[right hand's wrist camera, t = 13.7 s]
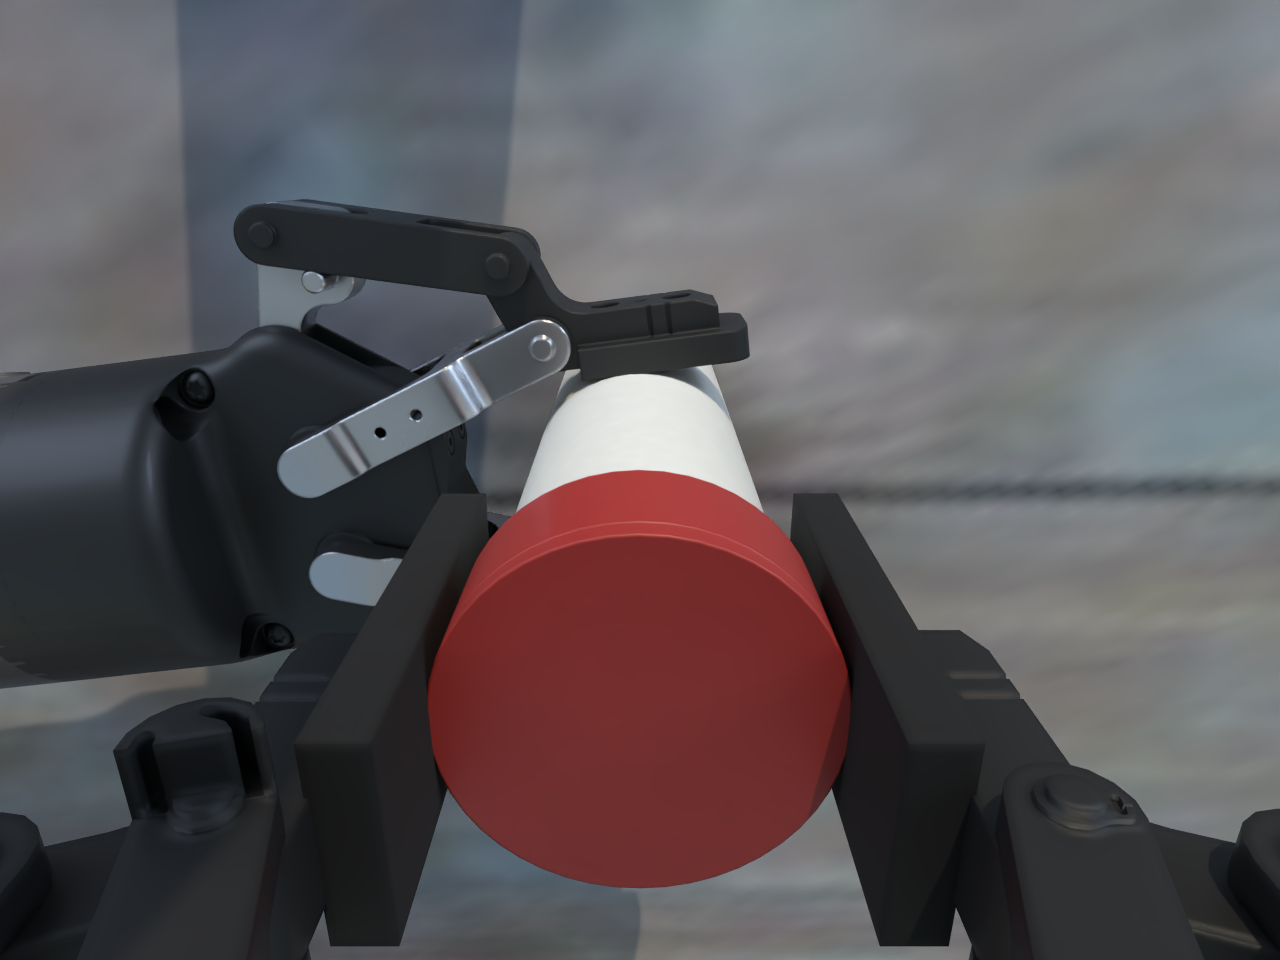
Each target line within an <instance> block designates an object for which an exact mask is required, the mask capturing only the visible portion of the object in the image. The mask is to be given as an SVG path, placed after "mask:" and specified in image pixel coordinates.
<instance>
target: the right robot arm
mask: <svg viewBox="0 0 1280 960" xmlns="http://www.w3.org/2000/svg"><path fill="white" fill-rule="evenodd" d="M488 541H489V534H488V520H487V507H486V494H441V496H440V497H439V499H438V501H437V502H436V504H435V506H434V507H433V509H432V511H431V512H430V514H429V516H428V517H427V519H426V521H425V523H424V524H423V526H422V528H421V529H420V531H419V533H418V534H417V536H416V538H415V539H414V541H413V543H412V544H411V546H410V548H409V550H408V551H407V553H406V555H405V556H404V558H403V560H402V561H401V563H400V565H399V566H398V568H397V570H396V571H395V573H394V575H393V576H392V578H391V580H390V582H389V583H388V585H387V587H386V588H385V590H384V592H383V593H382V595H381V597H380V598H379V600H378V602H377V603H376V605H375V607H374V609H373V610H372V612H371V614H370V615H369V617H368V619H367V620H366V622H365V624H364V625H363V627H362V629H361V630H360V632H359V633H319V634H318V635H316V636H315V637H313V638H312V639H310V640H309V641H308V642H306V643H305V644H303V645H302V646H300V647H299V648H298V649H296V650H295V651H293V652H292V653H291V654H290V655H289V656H288V658H287V659H286V661H285V662H284V663H283V665H282V666H281V668H280V669H279V671H278V672H277V673H276V675H275V676H274V681H273V682H270V683H269V685H268V686H267V688H266V689H265V690H264V692H263V693H262V695H261V696H260V701H259V702H256V703H255V704H254V705H253V704H252V703H251V702H247V701H243V700H239V699H235V698H230V697H229V698H206V699H201V700H196V701H192V702H188V703H184V704H180V705H176V706H174V707H172V708H169V709H167V710H165V711H162V712H160V713H158V714H156V715H153V716H151V717H149V718H148V719H146V720H145V721H143V722H142V723H141V724H139V725H138V726H136V727H135V728H133V729H132V730H131V731H129V732H128V733H127V734H126V735H125V736H124V737H123V739H122V740H121V741H120V743H119V744H118V745H117V746H116V748H115V749H114V750H113V753H114V756H115V760H116V763H117V767H118V770H119V774H120V778H121V781H122V785H123V788H124V792H125V795H126V799H127V803H128V806H129V810H130V813H131V817H132V822H131V824H130V826H128V827H125V828H121V829H118V830H115V831H111V832H107V833H103V834H99V835H94V836H90V837H85V838H81V839H77V840H72V841H68V842H63V843H59V844H55V845H50V846H46V847H44V845H43V842H42V839H41V836H40V833H39V830H38V827H37V825H35V824H34V823H33V822H32V821H31V820H29V819H28V818H27V817H26V816H24V815H17V814H10V813H2V812H1V813H0V960H311V957H310V952H309V947H308V946H309V944H310V941H311V939H312V937H313V934H314V932H315V929H316V927H317V925H318V922H319V920H320V918H321V915H322V913H323V910H324V913H325V919H326V924H327V930H328V935H329V941H330V946H399V945H400V942H401V939H402V936H403V932H404V929H405V926H406V923H407V919H408V916H409V913H410V909H411V906H412V903H413V900H414V896H415V893H416V890H417V886H418V883H419V880H420V877H421V873H422V870H423V867H424V864H425V860H426V857H427V854H428V850H429V847H430V844H431V841H432V837H433V834H434V831H435V827H436V824H437V821H438V818H439V814H440V811H441V808H442V805H443V801H444V798H445V795H446V791H447V786H446V784H445V782H444V780H443V778H442V776H441V775H440V773H439V770H438V767H437V764H436V762H435V759H434V755H433V747H432V739H431V729H430V720H429V711H428V700H427V691H428V683H429V678H430V674H431V671H432V667H433V664H434V660H435V657H436V654H437V652H438V650H439V647H440V645H441V643H442V640H443V637H444V635H445V633H446V630H447V628H448V625H449V623H450V621H451V618H452V616H453V613H454V611H455V608H456V606H457V604H458V601H459V599H460V596H461V594H462V591H463V589H464V587H465V584H466V582H467V579H468V577H469V575H470V573H471V571H472V568H473V566H474V564H475V562H476V560H477V558H478V556H479V555H480V553H481V552H482V550H483V549H484V547H485V546H486V544H487V543H488ZM790 541H791V542H792V544H793V545H794V547H795V548H796V550H797V551H798V553H799V554H800V556H801V557H802V560H803V562H804V564H805V566H806V568H807V570H808V572H809V574H810V576H811V579H812V581H813V584H814V586H815V588H816V591H817V593H818V596H819V598H820V601H821V603H822V605H823V608H824V610H825V613H826V615H827V618H828V620H829V622H830V625H831V627H832V630H833V632H834V635H835V637H836V640H837V642H838V644H839V647H840V649H841V652H842V654H843V657H844V660H845V664H846V667H847V670H848V674H849V677H850V683H851V690H852V701H851V712H850V722H849V731H848V740H847V748H846V756H845V759H844V762H843V765H842V768H841V771H840V773H839V775H838V777H837V778H836V780H835V782H834V784H833V786H832V791H833V794H834V797H835V801H836V804H837V807H838V810H839V814H840V817H841V820H842V824H843V827H844V830H845V833H846V837H847V840H848V843H849V847H850V850H851V853H852V856H853V860H854V863H855V866H856V869H857V873H858V876H859V879H860V883H861V886H862V889H863V892H864V896H865V899H866V902H867V906H868V909H869V912H870V915H871V919H872V922H873V925H874V928H875V932H876V935H877V938H878V942H879V945H880V946H949V941H950V936H951V931H952V925H953V920H954V914H955V909H956V908H957V911H958V913H959V915H960V918H961V920H962V923H963V925H964V927H965V930H966V932H967V934H968V937H969V939H970V941H971V944H972V947H971V952H970V957H969V960H1280V809H1273V810H1266V811H1258V812H1255V813H1254V814H1252V815H1251V816H1250V817H1249V818H1247V819H1246V820H1245V821H1244V822H1243V823H1242V826H1241V829H1240V832H1239V835H1238V838H1237V841H1236V843H1232V842H1228V841H1223V840H1219V839H1214V838H1210V837H1205V836H1201V835H1197V834H1192V833H1188V832H1183V831H1179V830H1174V829H1170V828H1167V827H1163V826H1160V825H1157V824H1153V823H1150V822H1149V820H1148V818H1147V817H1146V815H1145V814H1144V812H1143V811H1142V809H1141V808H1140V806H1139V805H1138V803H1137V802H1136V800H1135V799H1133V798H1132V797H1131V796H1130V795H1128V794H1127V793H1126V792H1125V791H1123V790H1122V789H1121V788H1120V787H1119V786H1117V785H1116V784H1115V783H1113V782H1111V781H1109V780H1107V779H1105V778H1103V777H1101V776H1099V775H1097V774H1095V773H1093V772H1091V771H1089V770H1087V769H1083V768H1079V767H1076V766H1072V765H1070V764H1069V762H1068V761H1067V760H1066V758H1065V757H1064V755H1063V754H1062V753H1061V751H1060V750H1059V748H1058V747H1057V746H1056V744H1055V743H1054V741H1053V740H1052V739H1051V737H1050V736H1049V734H1048V733H1047V732H1046V730H1045V729H1044V727H1043V726H1042V725H1041V723H1040V722H1039V720H1038V719H1037V718H1036V716H1035V715H1034V713H1033V712H1032V711H1031V709H1030V708H1029V706H1028V705H1027V703H1026V702H1025V701H1024V699H1020V694H1019V692H1018V691H1017V689H1016V688H1015V687H1014V685H1013V684H1012V682H1011V681H1010V680H1009V679H1006V674H1005V673H1004V671H1003V670H1002V668H1001V667H1000V666H999V664H998V663H997V661H996V660H995V659H994V657H993V656H992V654H991V653H990V651H989V650H987V649H986V648H984V647H983V646H982V645H980V644H979V643H977V642H976V641H974V640H973V639H971V638H970V637H969V636H967V635H966V634H964V633H963V632H961V631H960V630H918V629H917V627H916V625H915V624H914V622H913V620H912V618H911V617H910V615H909V613H908V612H907V610H906V608H905V607H904V605H903V603H902V602H901V600H900V598H899V597H898V595H897V593H896V591H895V590H894V588H893V586H892V585H891V583H890V581H889V580H888V578H887V576H886V575H885V573H884V571H883V570H882V568H881V566H880V564H879V563H878V561H877V559H876V558H875V556H874V554H873V553H872V551H871V549H870V548H869V546H868V544H867V543H866V541H865V539H864V537H863V536H862V534H861V532H860V531H859V529H858V527H857V526H856V524H855V522H854V521H853V519H852V517H851V515H850V514H849V512H848V510H847V509H846V507H845V505H844V504H843V502H842V500H841V499H840V497H839V495H838V494H794V495H793V509H792V523H791V537H790Z"/></svg>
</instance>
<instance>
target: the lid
mask: <svg viewBox="0 0 1280 960" xmlns="http://www.w3.org/2000/svg"><path fill="white" fill-rule="evenodd" d="M427 700H428V711H429V720H430V729H431V739H432V747H433V755H434V759H435V762H436V764H437V767H438V770H439V773H440V775H441V776H442V778H443V780H444V782H445V784H446V786H447V788H448V790H449V791H450V793H451V795H452V796H453V797H454V799H455V800H456V801H457V803H458V804H459V806H460V807H461V808H462V810H463V811H464V812H465V813H466V814H467V816H468V817H469V818H470V819H471V820H472V821H473V822H474V823H475V824H476V825H477V826H478V827H479V828H480V829H481V830H482V831H483V832H484V833H486V834H487V835H488V836H489V837H491V838H492V839H493V840H494V841H495V842H497V843H498V844H499V845H501V846H502V847H504V848H505V849H507V850H508V851H510V852H512V853H513V854H515V855H516V856H518V857H519V858H521V859H523V860H525V861H527V862H529V863H531V864H534V865H536V866H538V867H540V868H542V869H544V870H547V871H550V872H552V873H555V874H558V875H561V876H563V877H566V878H570V879H574V880H578V881H582V882H586V883H591V884H597V885H604V886H611V887H624V888H655V887H669V886H675V885H682V884H688V883H693V882H697V881H701V880H705V879H709V878H712V877H716V876H719V875H721V874H724V873H727V872H729V871H732V870H735V869H737V868H740V867H742V866H744V865H746V864H748V863H750V862H752V861H754V860H756V859H758V858H760V857H761V856H763V855H765V854H766V853H768V852H769V851H771V850H772V849H774V848H775V847H777V846H778V845H780V844H781V843H783V842H784V841H785V840H786V839H787V838H789V837H790V836H791V835H792V834H793V833H795V832H796V831H797V830H798V829H799V828H800V827H801V826H802V825H803V824H804V823H805V822H806V821H807V820H808V819H809V818H810V817H811V816H812V815H813V813H814V812H815V811H816V810H817V809H818V807H819V806H820V804H821V803H822V802H823V800H824V799H825V797H826V796H827V795H828V793H829V792H830V790H831V788H832V786H833V784H834V782H835V780H836V778H837V777H838V775H839V773H840V771H841V768H842V765H843V762H844V759H845V756H846V748H847V740H848V731H849V722H850V712H851V701H852V690H851V683H850V677H849V674H848V670H847V667H846V664H845V660H844V657H843V654H842V652H841V649H840V647H839V644H838V642H837V640H836V637H835V635H834V632H833V630H832V627H831V625H830V622H829V620H828V618H827V615H826V613H825V610H824V608H823V605H822V603H821V601H820V598H819V596H818V593H817V591H816V588H815V586H814V584H813V581H812V579H811V576H810V574H809V572H808V570H807V568H806V566H805V564H804V562H803V560H802V557H801V556H800V554H799V553H798V551H797V550H796V548H795V547H794V545H793V544H792V542H791V541H790V539H789V538H788V537H787V536H786V535H785V534H784V533H783V531H782V530H781V529H780V528H779V527H778V526H777V525H776V524H775V523H774V521H772V520H771V519H770V518H769V517H768V516H766V515H765V514H764V513H763V512H762V511H760V510H759V509H758V508H757V507H756V506H754V505H752V504H751V503H749V502H748V501H746V500H745V499H743V498H741V497H740V496H738V495H737V494H735V493H733V492H731V491H728V490H726V489H724V488H722V487H720V486H718V485H715V484H713V483H710V482H707V481H704V480H701V479H697V478H694V477H691V476H687V475H682V474H676V473H671V472H665V471H650V470H629V471H614V472H608V473H603V474H598V475H593V476H588V477H585V478H582V479H578V480H575V481H572V482H569V483H566V484H564V485H561V486H559V487H557V488H555V489H553V490H551V491H549V492H547V493H545V494H542V495H541V496H539V497H538V498H536V499H535V500H533V501H532V502H530V503H528V504H527V505H525V506H524V507H522V508H521V509H520V510H519V511H518V512H516V513H515V514H514V515H513V516H512V517H511V518H509V519H508V520H507V521H506V522H505V523H504V524H503V525H502V526H501V527H500V528H499V529H498V531H497V532H496V533H495V534H494V535H493V536H492V537H491V538H490V540H489V541H488V543H487V544H486V546H485V547H484V549H483V550H482V552H481V553H480V555H479V556H478V558H477V560H476V562H475V564H474V566H473V568H472V571H471V573H470V575H469V577H468V579H467V582H466V584H465V587H464V589H463V591H462V594H461V596H460V599H459V601H458V604H457V606H456V608H455V611H454V613H453V616H452V618H451V621H450V623H449V625H448V628H447V630H446V633H445V635H444V637H443V640H442V643H441V645H440V647H439V650H438V652H437V654H436V657H435V660H434V664H433V667H432V671H431V674H430V678H429V683H428V691H427Z"/></svg>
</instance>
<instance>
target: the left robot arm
mask: <svg viewBox="0 0 1280 960" xmlns="http://www.w3.org/2000/svg"><path fill="white" fill-rule="evenodd" d="M234 237H235V241H236V244H237V246H238V247H239V249H240V251H241V252H242V253H243V254H244V255H245V256H246V257H247V258H248V259H249V260H251V261H253V262H254V263H257V285H258V315H259V328H256V329H253V330H251V331H249V332H247V333H246V334H244V335H243V336H242V337H241V338H240V339H238V340H237V341H236V342H235V343H234V344H233V345H231V346H230V347H229V348H225V349H221V350H214V351H206V352H198V353H191V354H183V355H175V356H167V357H159V358H152V359H144V360H136V361H128V362H120V363H113V364H105V365H97V366H89V367H81V368H74V369H67V370H58V371H50V372H42V373H35V374H30V373H29V372H9V373H0V689H2V688H12V687H21V686H30V685H39V684H49V683H58V682H67V681H77V680H86V679H95V678H104V677H113V676H122V675H130V674H139V673H148V672H157V671H167V670H176V669H185V668H194V667H203V666H213V665H222V664H231V663H236V662H242V661H246V660H250V659H253V658H257V657H260V656H264V655H267V654H271V653H274V652H278V651H282V650H286V649H293V648H299V647H300V646H302V645H303V644H305V643H306V642H308V641H309V640H310V639H312V638H313V637H315V636H316V635H318V634H319V633H359V632H360V630H361V629H362V627H363V625H364V624H365V622H366V620H367V619H368V617H369V615H370V614H371V612H372V610H373V609H374V607H375V605H376V603H377V602H378V600H379V598H380V597H381V595H382V593H383V592H384V590H385V588H386V587H387V585H388V583H389V582H390V580H391V578H392V576H393V575H394V573H395V571H396V570H397V568H398V566H399V565H400V563H401V561H402V560H403V558H404V556H405V555H406V553H407V551H408V550H409V548H410V546H411V544H412V543H413V541H414V539H415V538H416V536H417V534H418V533H419V531H420V529H421V528H422V526H423V524H424V523H425V521H426V519H427V517H428V516H429V514H430V512H431V511H432V509H433V507H434V506H435V504H436V502H437V501H438V499H439V497H440V496H441V494H480V493H479V492H478V490H477V488H476V486H475V484H474V482H473V480H472V478H471V476H470V474H469V472H468V470H467V468H466V465H465V461H466V446H467V432H466V427H465V422H466V421H468V420H470V419H472V418H473V417H475V416H476V415H478V414H479V413H481V412H482V411H483V410H484V409H486V408H487V407H489V406H491V405H492V404H494V403H496V402H498V401H500V400H502V399H504V398H506V397H508V396H510V395H512V394H514V393H516V392H518V391H520V390H522V389H524V388H526V387H529V386H531V385H533V384H535V383H537V382H539V381H541V380H543V379H545V378H547V377H549V376H551V375H553V374H555V373H557V372H559V371H567V370H575V369H580V371H581V377H582V381H586V380H594V379H602V378H610V377H616V376H623V375H629V374H642V373H650V372H658V371H666V370H674V369H682V368H690V367H698V366H706V365H714V364H722V363H730V362H736V361H740V360H744V359H746V358H748V357H749V356H750V352H749V340H748V328H747V323H746V322H745V320H744V318H743V317H742V315H741V314H739V313H719V312H718V305H717V303H716V301H715V299H714V297H713V295H709V294H705V293H702V292H698V291H694V290H682V291H674V292H667V293H659V294H651V295H643V296H636V297H628V298H620V299H612V300H605V301H597V302H588V303H584V302H577V301H574V300H572V299H569V298H568V297H566V296H565V295H564V294H562V293H561V292H560V291H559V290H558V288H557V287H556V285H555V284H554V282H553V280H552V278H551V276H550V275H549V273H548V271H547V269H546V267H545V265H544V264H543V262H542V260H541V253H540V248H539V245H538V243H537V241H536V240H535V238H534V237H533V236H532V235H531V234H530V233H528V232H527V231H525V230H523V229H520V228H514V227H507V226H499V225H492V224H485V223H477V222H470V221H463V220H455V219H448V218H441V217H433V216H426V215H419V214H411V213H404V212H396V211H389V210H382V209H374V208H367V207H360V206H352V205H345V204H338V203H330V202H323V201H316V200H308V199H301V200H292V201H280V202H271V203H265V204H257V205H251V206H248V207H246V208H245V209H243V210H242V211H241V212H240V213H239V215H238V216H237V218H236V220H235V223H234ZM366 279H369V280H377V281H385V282H392V283H400V284H407V285H415V286H422V287H430V288H438V289H445V290H453V291H460V292H468V293H475V294H483V295H486V296H487V297H488V299H489V301H490V303H491V304H492V306H493V308H494V310H495V311H496V313H497V315H498V317H499V318H500V320H501V322H502V325H500V326H498V327H496V328H494V329H492V330H490V331H488V332H486V333H484V334H482V335H480V336H476V337H473V338H471V339H469V340H467V341H465V342H463V343H461V344H459V345H457V346H455V347H453V348H451V349H449V350H447V351H445V352H443V353H441V354H439V355H437V356H435V357H433V358H431V359H429V360H427V361H425V362H423V363H421V364H420V365H418V366H416V367H414V368H412V369H410V370H408V369H406V368H404V367H402V366H400V365H398V364H396V363H394V362H392V361H390V360H388V359H386V358H384V357H382V356H380V355H378V354H376V353H374V352H373V351H371V350H369V349H367V348H365V347H363V346H361V345H359V344H357V343H355V342H353V341H351V340H349V339H347V338H345V337H343V336H341V335H339V334H337V333H335V332H333V331H331V330H329V329H327V328H325V327H323V326H322V325H320V324H317V323H315V320H316V315H317V313H318V310H319V309H320V308H321V306H322V305H335V304H338V303H340V302H343V301H345V300H347V299H349V298H351V297H353V296H355V295H357V294H358V293H359V292H360V291H361V290H362V288H363V286H364V284H365V281H366ZM509 518H511V516H506V515H501V514H496V513H490V512H487V520H488V534H489V540H490V538H491V537H492V536H493V535H494V534H495V533H496V532H497V531H498V529H499V528H500V527H501V526H502V525H503V524H504V523H505V522H506V521H507V520H508V519H509Z"/></svg>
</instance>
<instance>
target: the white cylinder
mask: <svg viewBox="0 0 1280 960" xmlns="http://www.w3.org/2000/svg"><path fill="white" fill-rule="evenodd" d="M629 470H650V471H665V472H671V473H676V474H682V475H687V476H691V477H694V478H697V479H701V480H704V481H707V482H710V483H713V484H715V485H718V486H720V487H722V488H724V489H726V490H728V491H731V492H733V493H735V494H737V495H738V496H740V497H741V498H743V499H745V500H746V501H748V502H749V503H751V504H752V505H754V506H756V507H757V508H758V509H759V510H760V511H762V512H763V509H762V506H761V504H760V501H759V498H758V495H757V492H756V489H755V487H754V484H753V481H752V478H751V475H750V472H749V470H748V467H747V464H746V461H745V458H744V455H743V453H742V450H741V447H740V444H739V441H738V438H737V436H736V433H735V430H734V427H733V424H732V421H731V419H730V416H729V413H728V410H727V407H726V404H725V402H724V399H723V396H722V393H721V390H720V387H719V385H718V382H717V379H716V376H715V373H714V370H713V368H712V365H706V366H698V367H690V368H682V369H674V370H666V371H658V372H650V373H642V374H629V375H623V376H616V377H610V378H602V379H594V380H586V381H582V377H581V371H580V369H575V370H567V371H566V372H565V374H564V377H563V380H562V383H561V386H560V389H559V391H558V394H557V397H556V400H555V403H554V406H553V408H552V411H551V414H550V417H549V420H548V423H547V426H546V428H545V431H544V434H543V437H542V440H541V443H540V445H539V448H538V451H537V454H536V457H535V460H534V462H533V465H532V468H531V471H530V474H529V477H528V479H527V482H526V485H525V488H524V491H523V494H522V496H521V499H520V502H519V505H518V508H517V511H516V512H518V511H519V510H520V509H521V508H522V507H524V506H525V505H527V504H528V503H530V502H532V501H533V500H535V499H536V498H538V497H539V496H541V495H542V494H545V493H547V492H549V491H551V490H553V489H555V488H557V487H559V486H561V485H564V484H566V483H569V482H572V481H575V480H578V479H582V478H585V477H588V476H593V475H598V474H603V473H608V472H614V471H629ZM763 513H764V512H763Z"/></svg>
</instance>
